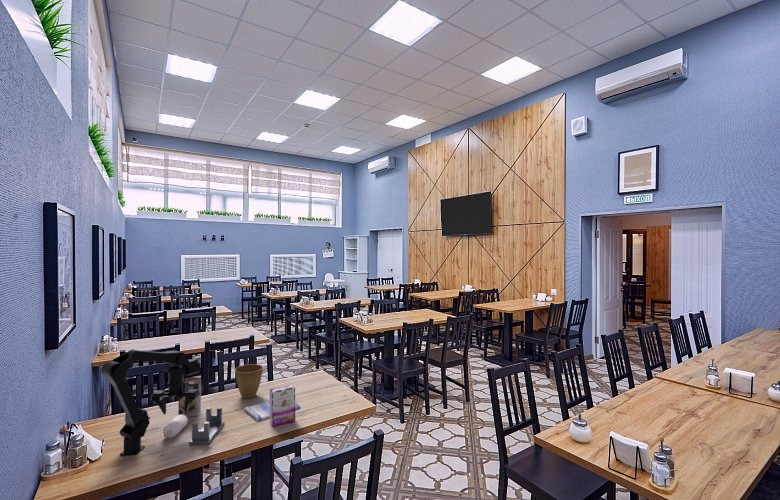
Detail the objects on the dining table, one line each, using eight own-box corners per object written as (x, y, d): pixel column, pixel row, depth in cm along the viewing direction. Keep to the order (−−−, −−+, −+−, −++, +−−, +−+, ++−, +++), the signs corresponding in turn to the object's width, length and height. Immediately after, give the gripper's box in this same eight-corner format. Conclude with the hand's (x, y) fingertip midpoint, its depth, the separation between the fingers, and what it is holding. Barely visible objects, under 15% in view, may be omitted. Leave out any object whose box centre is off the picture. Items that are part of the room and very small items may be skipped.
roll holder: (208, 444, 157) (208, 424, 157) (188, 445, 156) (189, 425, 156) (224, 423, 176) (224, 405, 176) (206, 424, 175) (206, 406, 175)
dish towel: (243, 411, 191) (243, 406, 191) (286, 399, 206) (286, 394, 206) (256, 423, 178) (256, 417, 178) (300, 409, 193) (300, 404, 193)
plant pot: (228, 399, 205) (228, 370, 205) (248, 390, 219) (248, 362, 219) (249, 403, 199) (249, 373, 199) (268, 393, 213) (268, 365, 213)
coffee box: (177, 418, 182) (178, 385, 182) (181, 412, 188) (181, 380, 188) (198, 415, 184) (198, 383, 184) (201, 410, 190) (201, 379, 190)
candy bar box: (292, 417, 183) (292, 384, 183) (295, 421, 179) (295, 387, 179) (269, 423, 177) (269, 388, 177) (272, 427, 172) (272, 391, 173)
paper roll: (173, 442, 159) (172, 428, 159) (158, 443, 158) (158, 429, 158) (191, 423, 177) (191, 410, 177) (178, 423, 176) (178, 411, 176)
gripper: (204, 373, 176) (204, 405, 176) (163, 374, 175) (163, 407, 174) (194, 381, 165) (194, 416, 165) (150, 382, 163) (150, 417, 163)
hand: (175, 413), depth 167 cm, fingers open, 9 cm apart
